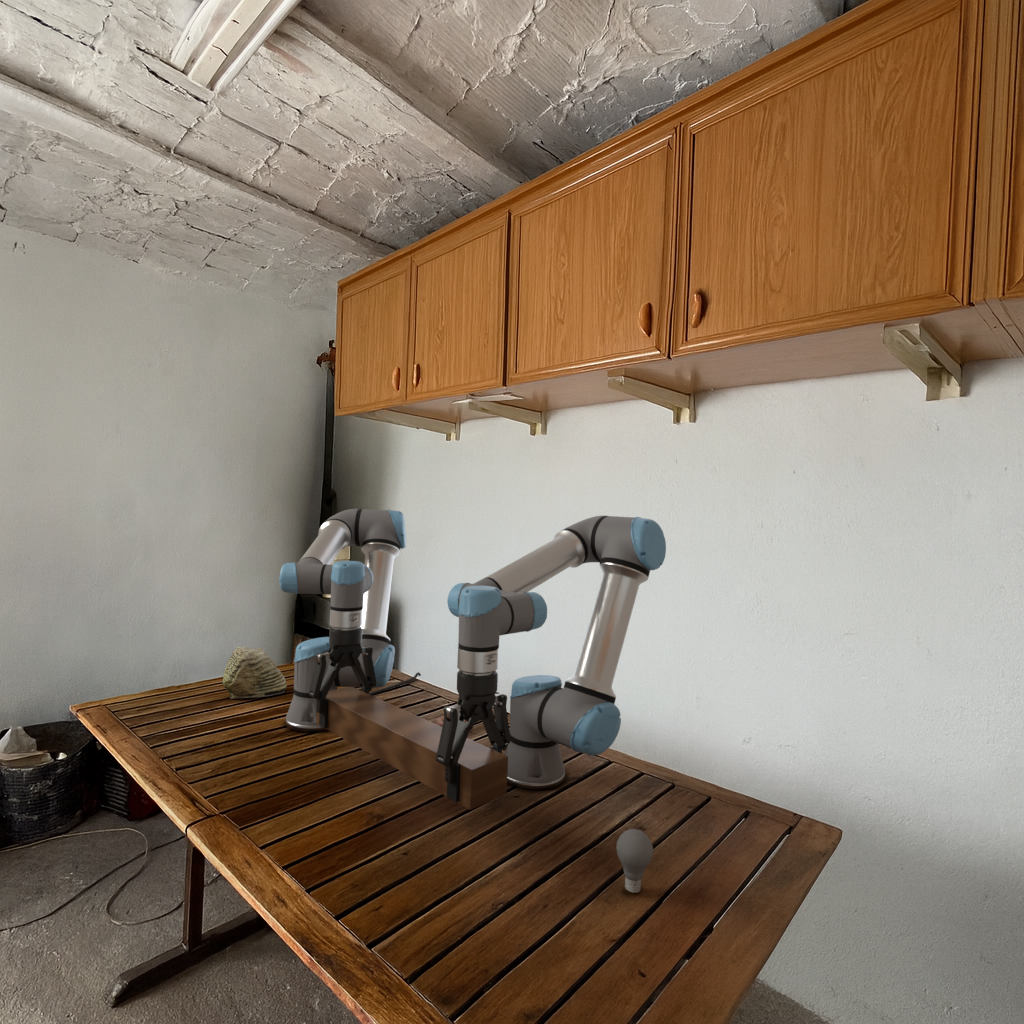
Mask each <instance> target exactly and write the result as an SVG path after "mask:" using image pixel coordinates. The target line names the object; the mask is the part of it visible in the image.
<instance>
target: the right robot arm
mask: <svg viewBox="0 0 1024 1024" xmlns="http://www.w3.org/2000/svg"><path fill="white" fill-rule="evenodd" d="M666 552H667V543H666V537H665V534H664V531H663V529H662V528H661V526H660V524H659V523H658V522H657V521H655V520H653V519H651V518H643V517H641V516H635V517H634V516H633V517H631V516H614V515H613V516H612V515H596V516H591V517H588V518H585V519H582V520H580V521H578V522H575V523H573V524H571V525H569V526H567V527H565V528H564V529H561V530H560V531H558V532H556V534H555V535H554V536H553V539H552V540H549V541H548V542H547V543H545V544H543V545H542V546H541V545H540V546H539V547H537V548H536V549H533V550H531V551H530V552H529V553H527V554H525V555H523V556H521V557H519V558H517V559H516V560H514V561H512V562H510V563H508V564H507V565H505V566H502V567H501V568H500V569H498V570H496V571H494V572H492V573H490V574H488V575H487V576H485V577H483V578H481V579H479V580H478V581H476V582H474V583H470V582H460V583H457V584H455V585H454V586H452V587H451V588H450V591H449V592H448V595H447V599H446V600H447V601H446V602H447V603H446V604H447V608H448V610H449V612H450V613H451V615H453V616H455V617H457V618H458V640H457V641H458V642H457V643H458V645H457V665H456V667H457V669H458V671H457V672H456V691H457V693H458V699H457V702H456V704H454V705H451V706H450V705H445V706H444V707H443V716H444V722H443V727H442V732H441V736H440V741H439V746H438V751H437V755H436V761H437V762H439V763H441V764H443V765H445V781H446V782H447V797H446V798H447V799H449V800H451V801H453V802H455V803H457V802H459V800H460V771H461V765H459V764H457V762H458V760H459V757H460V755H461V752H462V749H463V747H464V744H465V741H466V739H467V738H468V736H469V733H470V731H471V730H473V728H474V726H475V724H477V723H479V722H481V723H482V725H483V728H484V730H485V732H486V735H487V738H488V741H489V743H490V745H491V746H487V747H488V748H491V749H493V750H495V751H497V752H500V753H502V754H504V755H506V756H508V773H507V784H509V785H511V786H513V787H516V788H520V789H525V790H526V789H527V790H547V789H551V788H555V787H558V786H560V785H561V784H562V783H564V781H565V780H566V768H565V767H566V766H565V763H564V760H563V756H562V752H561V749H560V745H561V746H564V747H566V748H568V749H571V750H572V751H574V752H576V753H579V754H580V753H581V754H585V755H588V756H591V757H592V756H599V755H602V754H603V753H605V752H606V751H607V750H608V749H609V748H610V747H611V746H612V745H613V743H614V742H615V741H616V738H617V737H618V734H619V732H620V729H621V723H622V718H621V710H620V708H619V707H618V706H617V705H616V704H615V703H616V699H617V695H616V693H615V691H614V690H613V684H614V680H615V676H616V673H617V670H618V664H619V661H620V658H621V655H622V650H623V646H624V643H625V640H626V636H627V632H628V629H629V625H630V621H631V617H632V613H633V611H634V610H633V609H634V607H635V603H636V600H637V599H636V598H637V595H638V592H639V589H640V585H641V584H643V583H645V582H647V581H648V580H649V577H650V573H651V571H656V570H658V569H659V568H660V567H661V566H662V565H663V564H664V562H665V559H666V555H667V554H666ZM588 563H589V564H590V563H598V567H599V569H600V571H601V572H602V577H601V581H600V584H599V588H598V592H597V595H596V598H595V601H594V606H593V609H592V613H591V615H590V619H589V622H588V626H587V629H586V633H585V637H584V640H583V644H582V646H581V651H580V654H579V658H578V660H577V664H576V668H575V670H574V671H575V672H574V674H573V675H572V676H570V677H569V678H567V679H565V680H564V685H563V682H562V679H561V677H559V676H556V675H547V674H537V675H536V674H535V675H527V676H526V675H525V676H522V677H518V678H516V679H515V680H514V681H513V682H512V685H511V694H510V697H509V700H510V702H509V708H510V709H509V716H508V709H507V703H508V696H507V695H506V694H504V693H501V692H498V682H499V681H498V680H499V673H498V671H497V670H498V668H499V649H500V636H505V635H511V634H518V633H523V632H524V633H525V632H527V633H528V632H531V631H534V630H537V629H539V628H541V627H542V626H543V625H544V624H545V622H546V621H547V619H548V605H547V603H546V601H545V599H544V597H543V596H542V595H541V594H539V593H538V592H534V591H532V590H533V589H535V588H537V587H538V586H540V585H542V584H544V583H545V582H547V581H548V580H549V581H550V579H552V578H554V577H555V576H557V575H559V574H560V573H562V572H563V571H565V570H567V569H568V568H578V567H580V566H581V565H583V564H588ZM459 712H460V713H459ZM464 720H465V721H467V722H468V723H465V722H464ZM503 752H504V753H503ZM451 756H452V758H451Z"/></svg>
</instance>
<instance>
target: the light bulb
mask: <svg viewBox="0 0 1024 1024" xmlns="http://www.w3.org/2000/svg"><path fill="white" fill-rule="evenodd" d="M615 849H616V854H617V857H618V859H619V861H620V863H621V865H622V867H623V873H624V874H623V875H624V876H625V878H624V888H625V890H627V891H628V892H630V893H634V894H635V893H639V892H640V891H641V889H642V887H641V886H642V879H643V877H644V875H645V871H646V868H647V867H648V866H649V864H650V863H651V861H652V859H653V855H654V847H653V843H652V841H651V838H649V836H648V835H647V834H646V833H645V832H643V831H642V830H641V829H636V828H629V829H627V830H625V831H623V832H622V833H621V834H620V835H619V837H618V839H617V841H616V847H615Z"/></svg>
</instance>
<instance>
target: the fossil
mask: <svg viewBox="0 0 1024 1024" xmlns="http://www.w3.org/2000/svg"><path fill="white" fill-rule="evenodd" d="M222 676H223V677H222V685H223V687H224V688H225V690H226V691H228V693H229V698H230V699H250V698H264V697H271V696H275V695H281V694H284V693H285V691H286V689H287V687H288V686H287V680H286V678H285V676H284V674H283V673H282V672H281V669H279V668H278V667H277V665H276V663H275V662H274V660H273V659H272V658H271V657H270V656H269V655H268V654H267V653H266V652H265V650H264V649H263V648H260V647H258V648H251V647H247V646H246V647H245V646H238V647H237V648H236V649H235V650H233V651H232V653H231V656H230V657H229V659H228V660H227V663H226V666H225V668H224V671H223V675H222Z"/></svg>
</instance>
